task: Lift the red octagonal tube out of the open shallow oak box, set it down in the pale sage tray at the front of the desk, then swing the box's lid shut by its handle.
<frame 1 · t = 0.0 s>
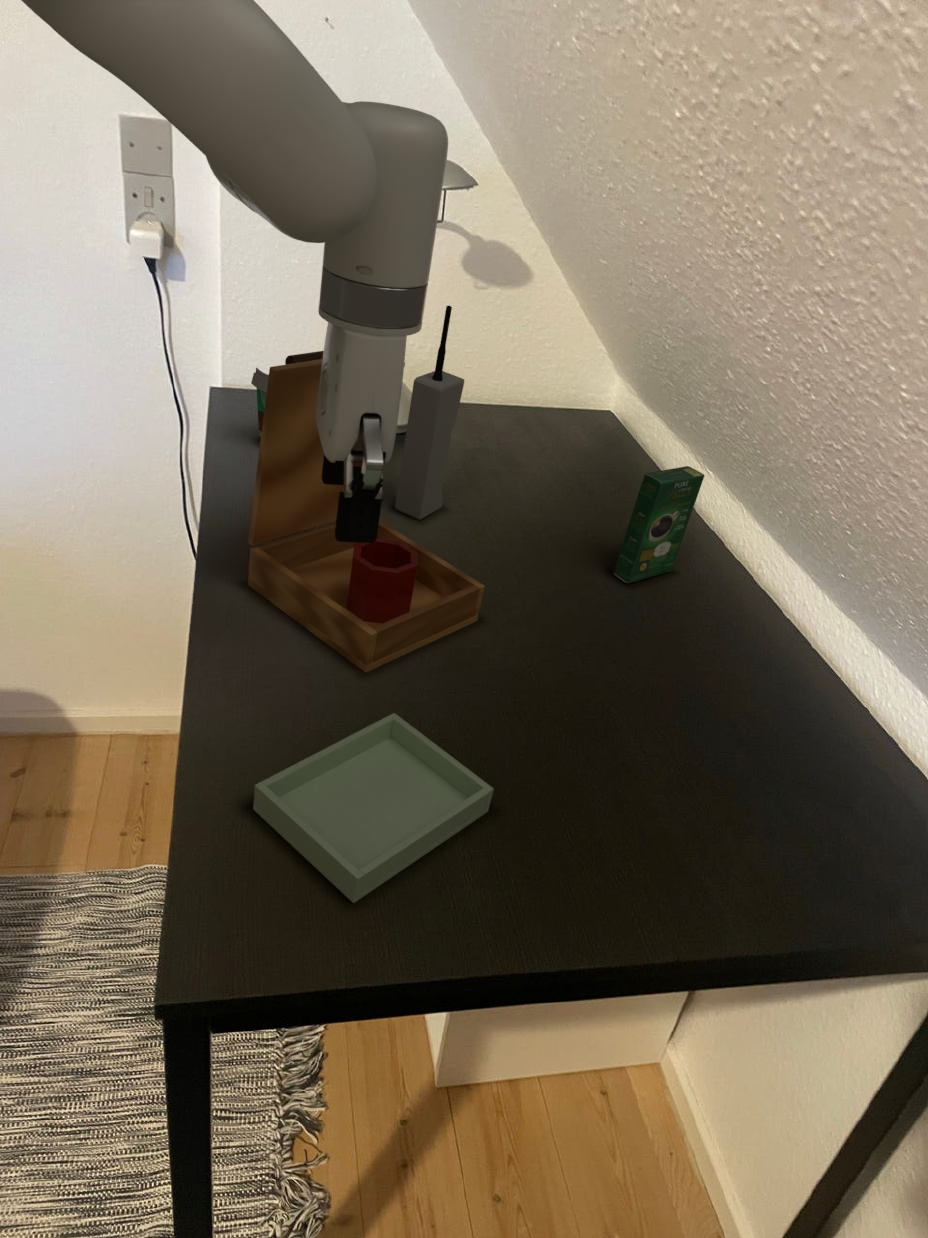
hand: (347, 510, 77), 16 cm above the table, tool pointing down, fingers open, 9 cm apart
tray: (373, 810, 72), on the table
chest: (363, 603, 96), on the table
vintage mobile phone: (418, 511, 116), on the table
lid: (311, 436, 93), point 14 cm above the table, hinge at 85.0°
food container: (300, 450, 124), on the table
red octagonal tube: (378, 605, 95), point 1 cm above the table, touching chest
coffee box: (642, 574, 112), on the table
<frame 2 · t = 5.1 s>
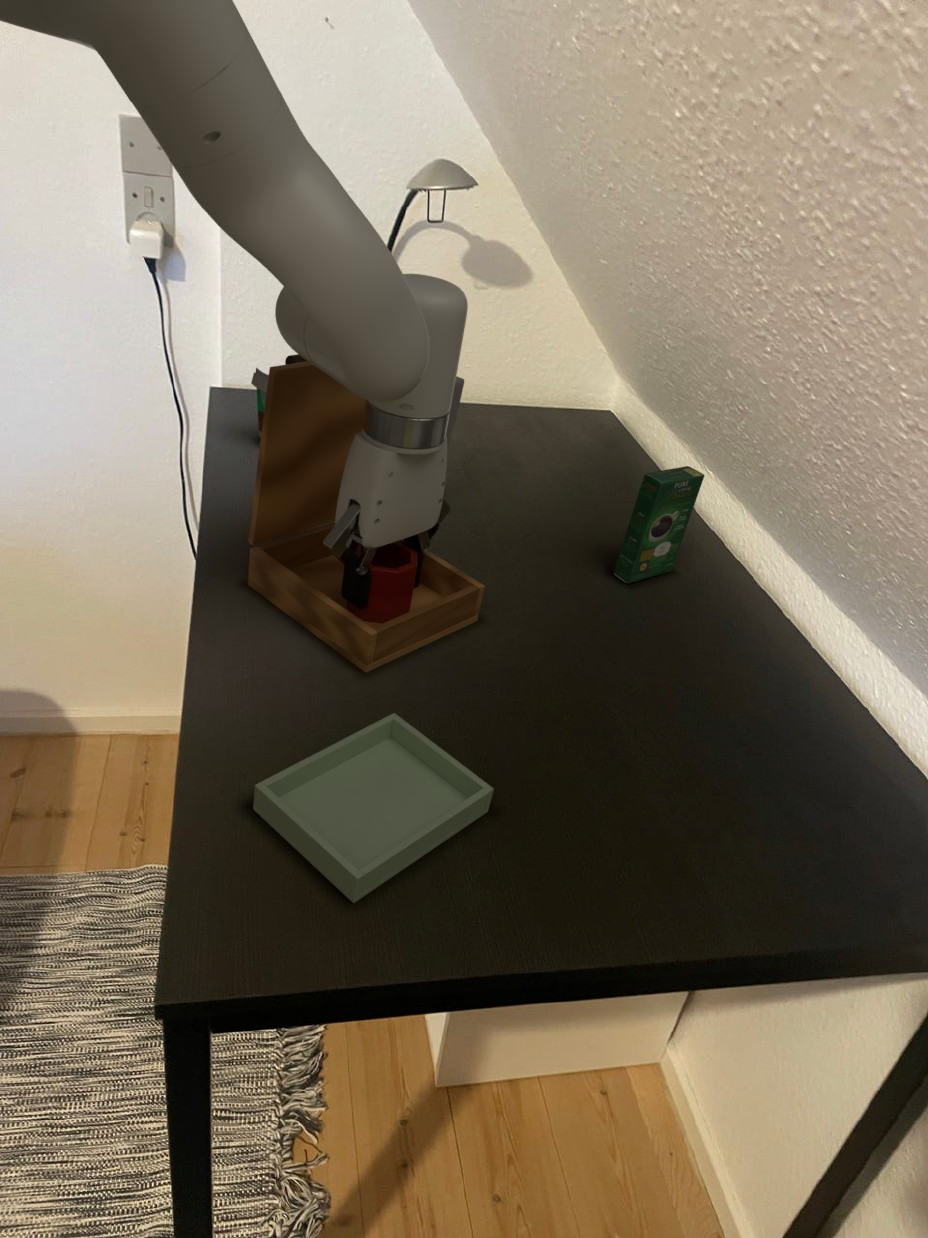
hand: (380, 590, 94), 3 cm above the table, tool pointing down, fingers closed on red octagonal tube, 6 cm apart
red octagonal tube: (378, 605, 95), point 1 cm above the table, touching chest, gripper
everything else where it was.
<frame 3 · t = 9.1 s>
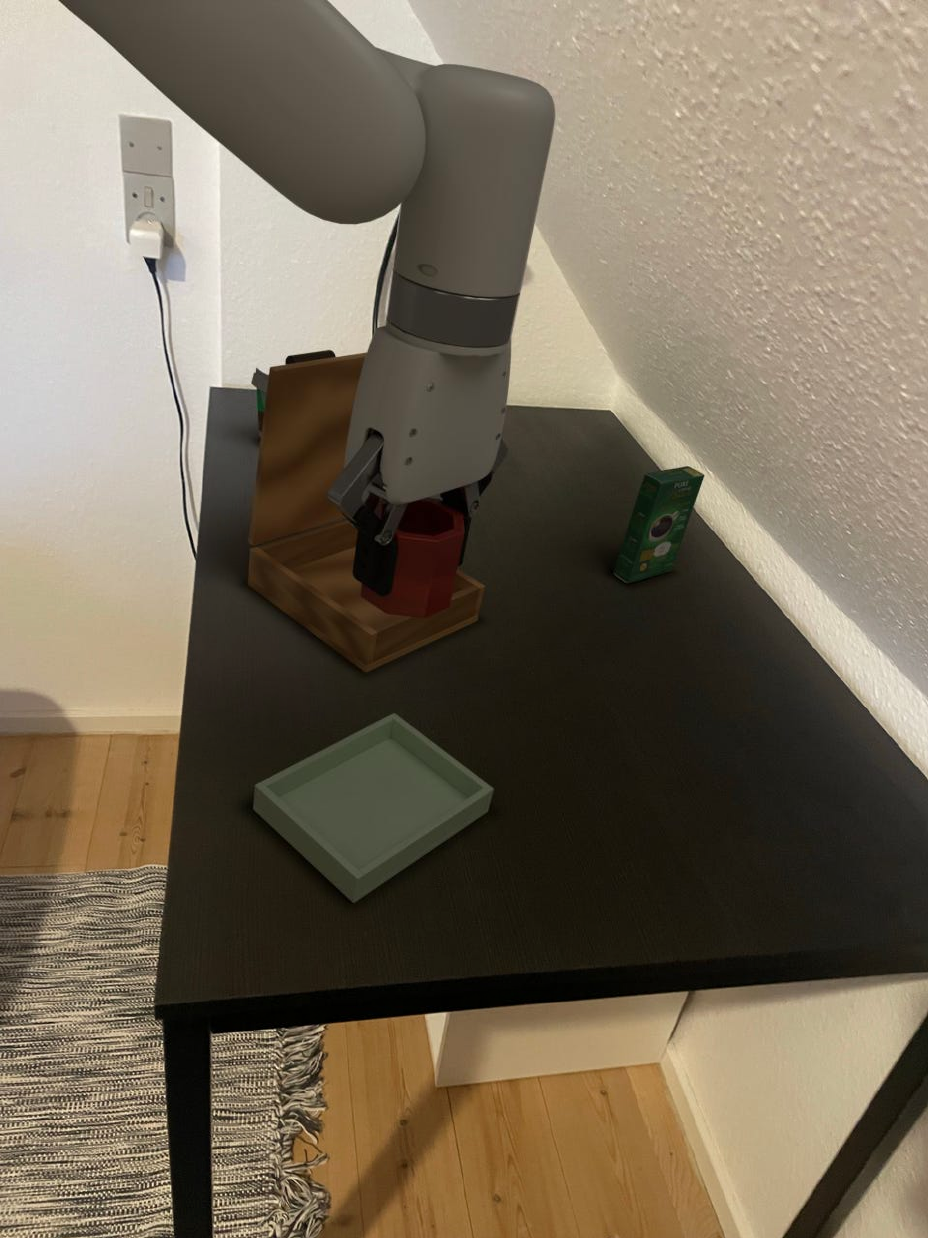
hand: (408, 569, 65), 19 cm above the table, tool pointing down, fingers closed on red octagonal tube, 6 cm apart
red octagonal tube: (405, 592, 66), point 17 cm above the table, touching gripper
everything else where it was.
when the fingers open (2 cm above the table, at t = 13.6 s): red octagonal tube stays where it is, resting on tray.
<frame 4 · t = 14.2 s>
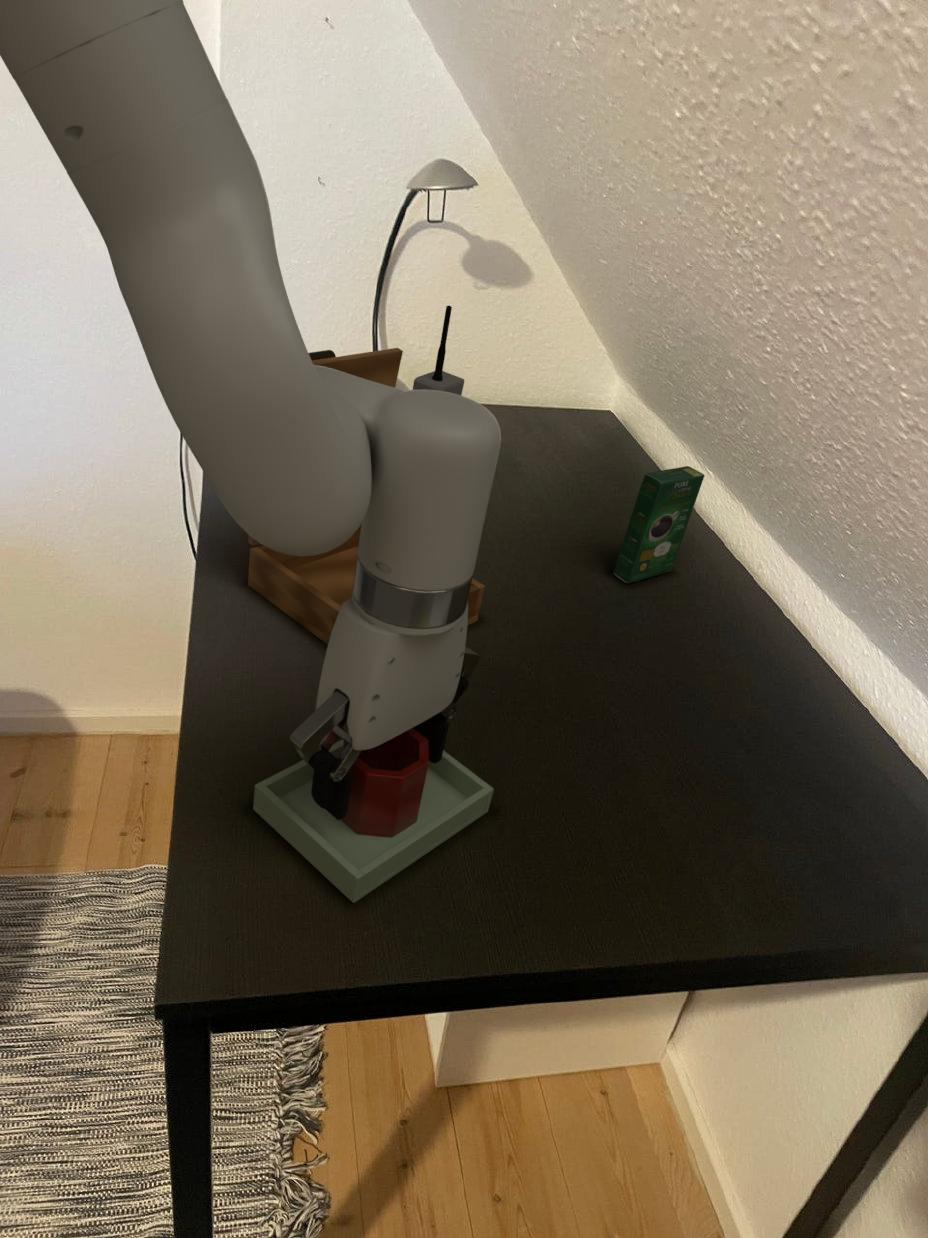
hand: (378, 778, 70), 3 cm above the table, tool pointing down, fingers open, 9 cm apart
red octagonal tube: (376, 806, 72), resting on tray
everything else where it was.
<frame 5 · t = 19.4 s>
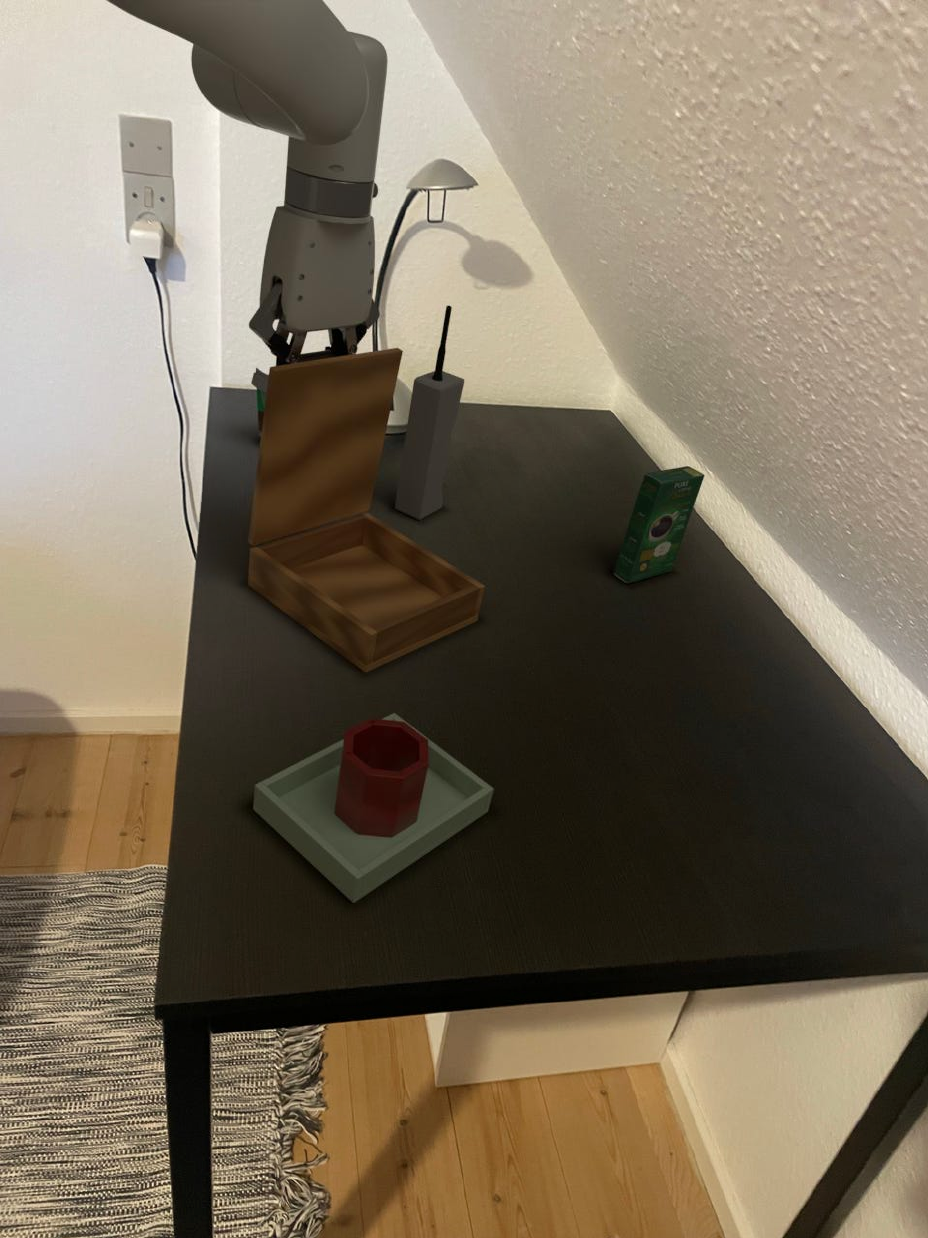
hand: (311, 393, 92), 18 cm above the table, tool pointing down, fingers closed on lid, 5 cm apart
lid: (311, 436, 93), point 14 cm above the table, hinge at 85.0°, touching gripper
everything else where it was.
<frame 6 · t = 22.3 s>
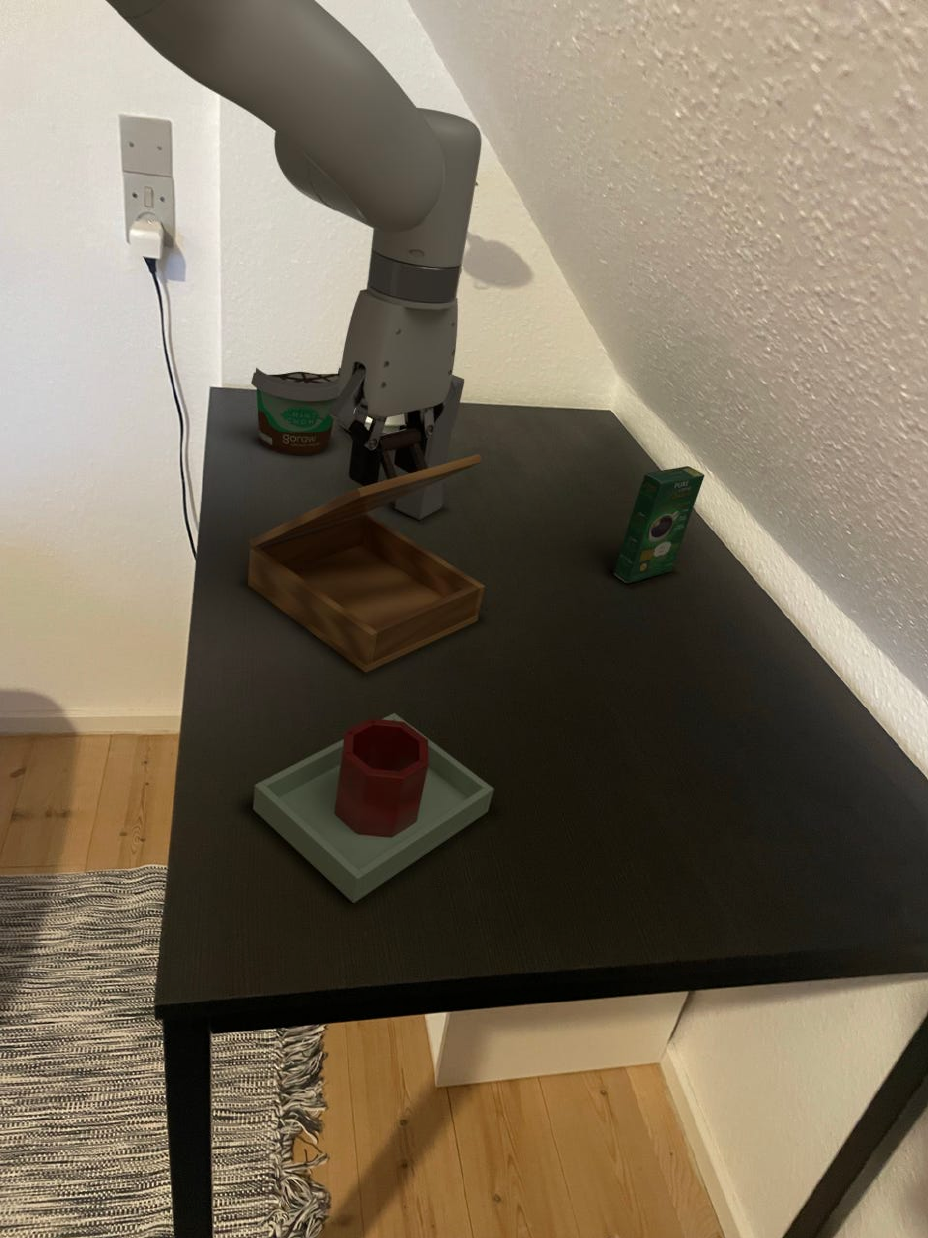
hand: (385, 475, 88), 15 cm above the table, tool pointing down, fingers closed on lid, 5 cm apart
lid: (356, 480, 91), point 12 cm above the table, hinge at 40.6°, touching gripper
everything else where it was.
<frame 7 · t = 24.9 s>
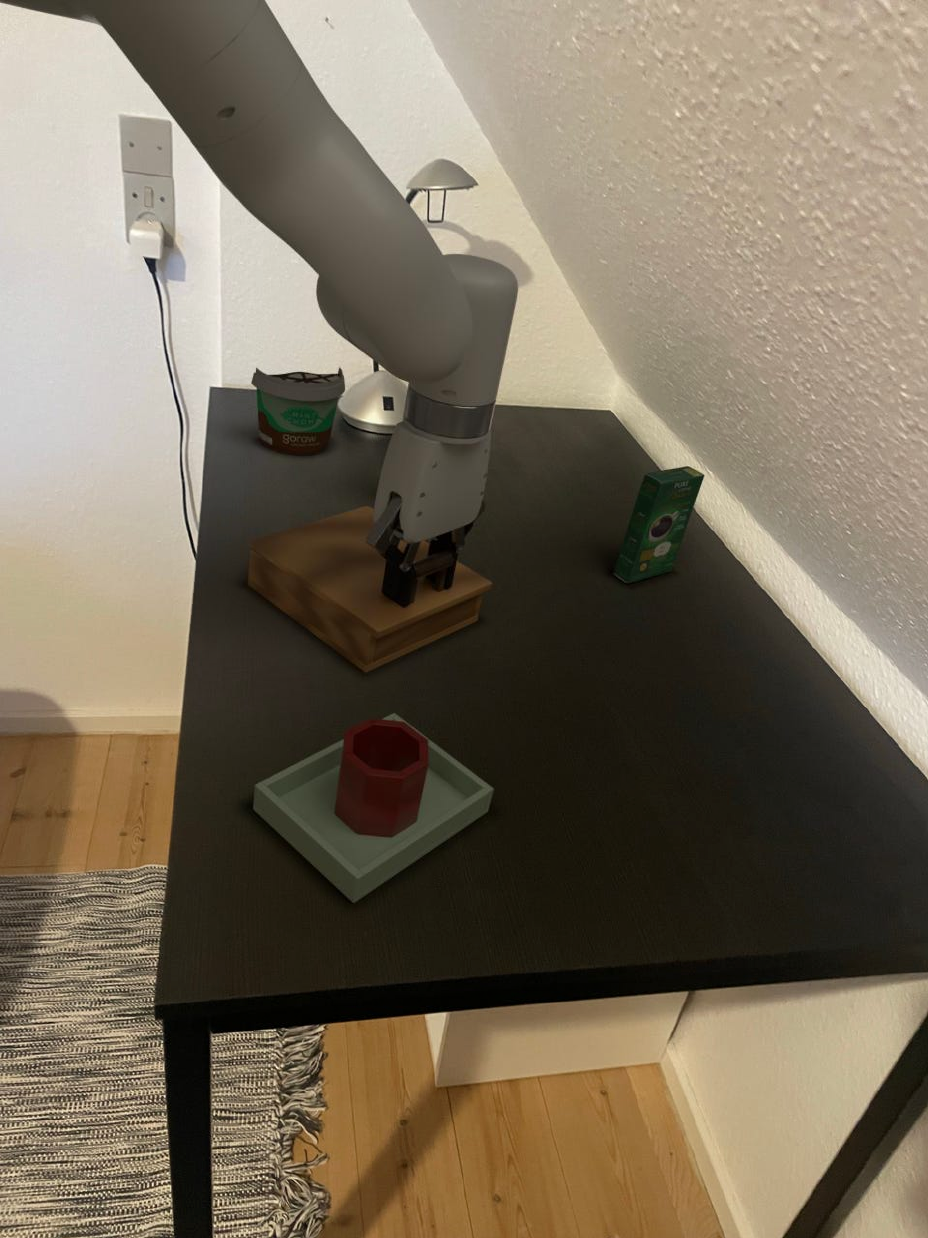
hand: (417, 589, 90), 5 cm above the table, tool pointing down, fingers closed on lid, 5 cm apart
lid: (374, 546, 92), point 7 cm above the table, hinge at -0.2°, touching chest, gripper
everything else where it was.
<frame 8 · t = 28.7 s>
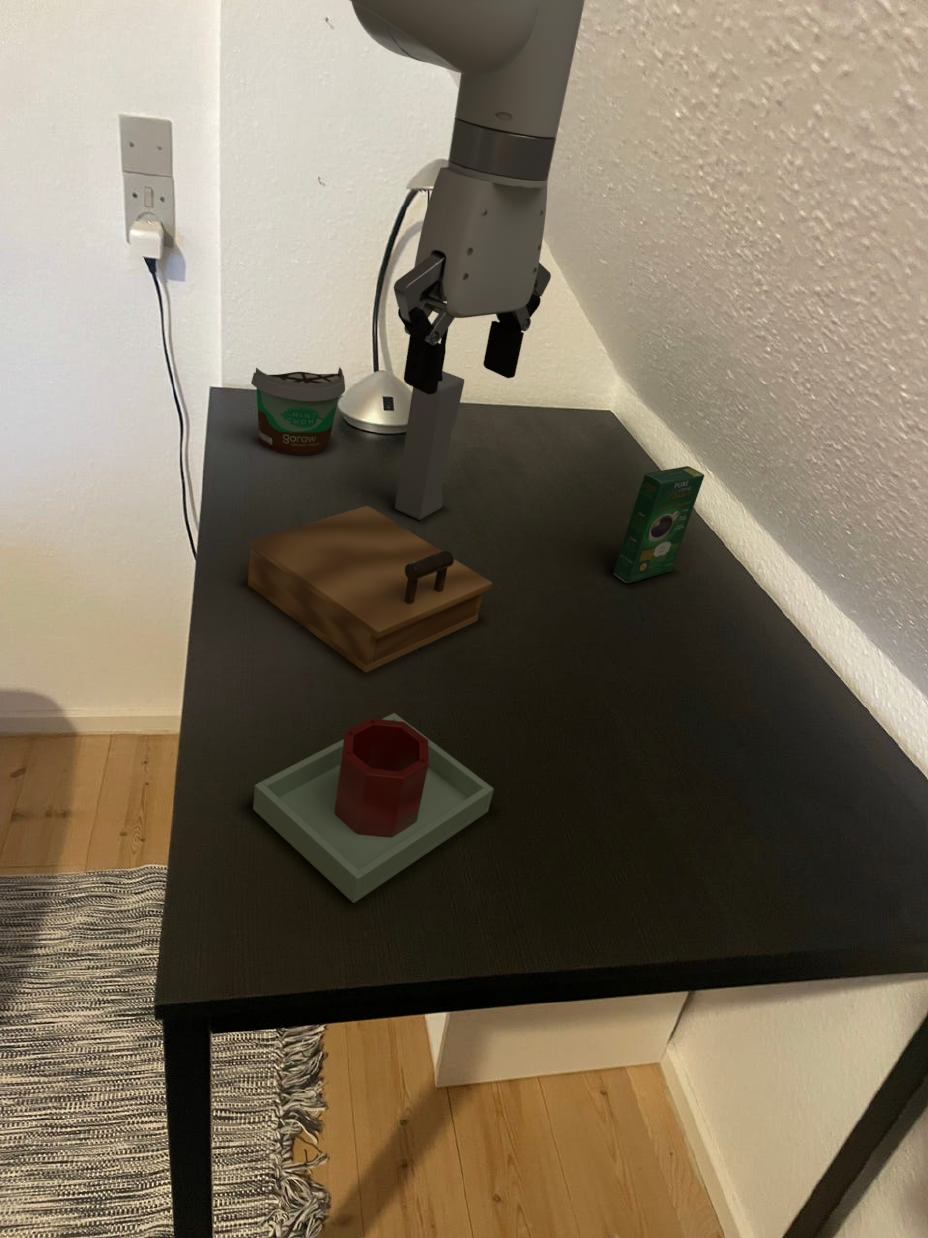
hand: (460, 380, 78), 26 cm above the table, tool pointing down, fingers open, 9 cm apart
lid: (374, 546, 92), point 7 cm above the table, hinge at -0.2°, touching chest
everything else where it was.
at the end: red octagonal tube inside the target area in the tray (0.1 cm from its centre), point 0.5 cm above the tray's base; the gripper is holding nothing; lid at +0° (first picture: +85°) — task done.
